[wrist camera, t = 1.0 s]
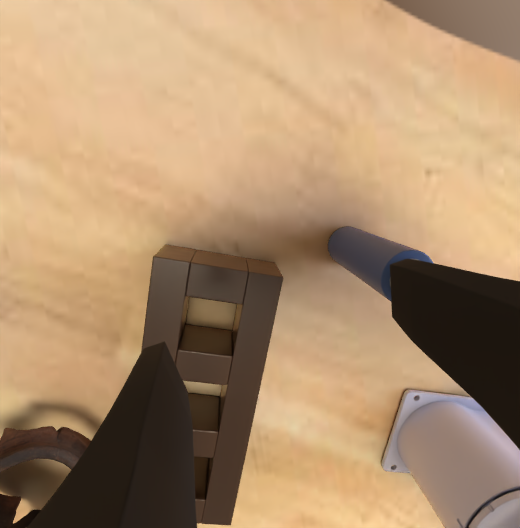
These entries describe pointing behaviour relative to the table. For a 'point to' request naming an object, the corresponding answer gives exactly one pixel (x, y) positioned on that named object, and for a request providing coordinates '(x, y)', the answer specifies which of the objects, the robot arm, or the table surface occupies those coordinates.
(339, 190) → the table surface
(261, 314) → the holder
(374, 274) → the handle
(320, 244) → the table surface
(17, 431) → the brown open ring
